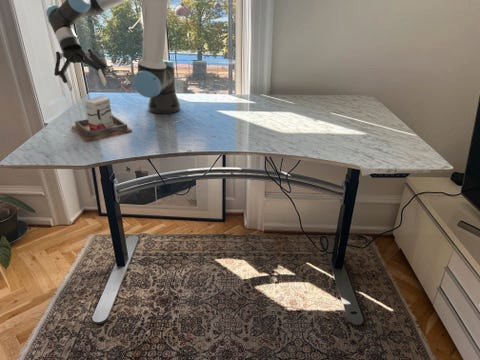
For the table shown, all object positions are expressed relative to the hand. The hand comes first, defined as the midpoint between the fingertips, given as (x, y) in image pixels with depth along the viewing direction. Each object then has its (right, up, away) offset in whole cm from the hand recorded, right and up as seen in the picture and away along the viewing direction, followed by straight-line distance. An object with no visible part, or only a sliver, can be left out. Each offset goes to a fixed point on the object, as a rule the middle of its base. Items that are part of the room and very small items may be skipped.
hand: (88, 86), depth 137 cm
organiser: (+4, -17, +4) cm, 18 cm away
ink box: (+4, -16, +3) cm, 17 cm away
